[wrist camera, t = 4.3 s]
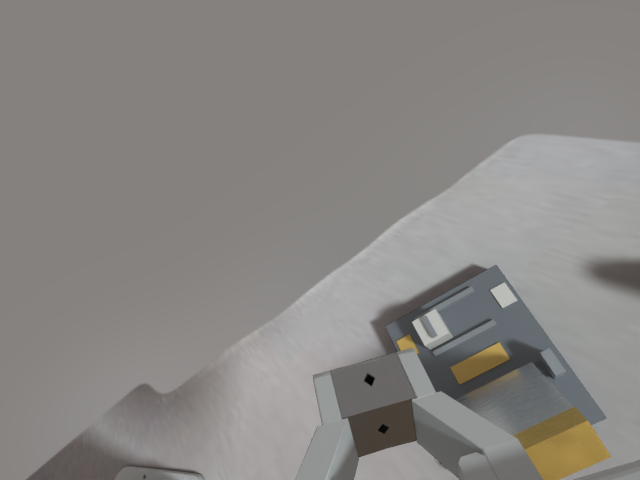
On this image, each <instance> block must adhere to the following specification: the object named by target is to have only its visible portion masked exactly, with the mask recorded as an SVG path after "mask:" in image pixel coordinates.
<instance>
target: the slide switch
mask: <svg viewBox="0 0 640 480" xmlns="http://www.w3.org/2000/svg"><path fill="white" fill-rule="evenodd" d="M412 323H413V325H414V327H415V329H416V331H417V333H418V334H419V336H420V338H421V340H422V342H423V344H424V345H425V346H426V347H427V348H428V349H430V350H431V349H433V348H435V347H437V346H439V345H440V344H442V343H444V342H446V341H448V340H450V339H452V338H454V337H453V336H452V334H451V332H450V331H449V329H448V327H447V325H446V324H445V322H444V320H443V319H442V317H441V315H440V314H439V313H438V312H437V310H436V309H434V310H432V311H431V312H429V313H427V314H425V315H423V316H422V317H420V318H418V319H416V320H414V321H413V322H412Z"/></svg>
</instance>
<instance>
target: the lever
mask: <svg viewBox="0 0 640 480" xmlns="http://www.w3.org/2000/svg"><path fill="white" fill-rule="evenodd" d="M456 401H458V402H459V403H461V404H462V405H464V406H466V407H467V408H469V409H470V410H472V411H474V412H475V413H477V414H478V415H480V416H482V417H483V418H485V419H486V420H488V421H490V422H491V423H493V424H494V425H496V426H498V427H499V428H501V429H503V430H504V431H506V432H507V433H509V434H511V435H512V436H514V437H515V438H517V439H518V440H519V442H520V443H521V445H522V446H523V448H524V450H525V451H526V453H527V454H528V456H529V458H530V459H531V461H532V462H533V464H534V466H535V467H536V469H537V470H538V472H539V474H540V475H541V477H542V478H543V480H559V479H561V478H564V477H566V476H568V475H570V474H573V473H575V472H577V471H580V470H582V469H584V468H587V467H589V466H591V465H593V464H596V463H598V462H600V461H603V460H605V459H607V458H610V457H611V456H610V454H609V453H608V451H607V449H606V448H605V446H604V445H603V443H602V442H601V440H600V439H599V437H598V435H597V434H596V432H595V431H594V429H593V428H592V426H591V425H590V423H589V421H588V420H587V419H586V418H585V417H584V416H583V415H582V414H581V413H580V412H579V410H578V409H577V408H576V407H573V406H572V405H571V404H570V403H569V402H568V401H567V400H566V399H565V398H564V397H563V396H562V394H561V393H560V392H559V391H558V390H557V389H556V388H555V387H554V386H553V385H552V384H551V382H550V381H549V380H548V379H547V375H546V373H545V372H544V370H543V369H542V367H541V366H540V364H539V363H538V362H537V361H534V362H530V363H528V364H526V365H524V366H522V367H520V368H518V369H516V370H514V371H512V372H510V373H508V374H506V375H504V376H502V377H500V378H498V379H496V380H494V381H492V382H490V383H488V384H486V385H484V386H482V387H480V388H478V389H476V390H474V391H472V392H470V393H468V394H466V395H464V396H462V397H460V398H458V399H456Z"/></svg>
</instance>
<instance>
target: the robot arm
mask: <svg viewBox="0 0 640 480" xmlns="http://www.w3.org/2000/svg"><path fill="white" fill-rule="evenodd" d="M330 371H331V373H330ZM330 371H327V372H323V373H319V374H315V375H313V381H314V386H315V392H316V397H317V402H318V407H319V412H320V417H321V422H322V425H321V426H317V428H316V431H315V433H314V436H313V438H312V440H311V443H310V445H309V448H308V450H307V452H306V455H305V457H304V460H303V462H302V464H301V467H300V469H299V472H298V474H297V476H296V479H295V480H354V477H355V473H356V469H357V465H358V461H359V457H362V456H365V455H368V454H371V453H374V452H377V451H380V450H383V449H387V448H390V447H394V446H398V445H402V444H406V443H410V442H414V441H417V443H419V444H420V445H421V446H422V447H423V448H424V449H425V450H427V451H428V452H429V453H430V454H431V455H432V456H434V457H435V458H436V459H437V460H438V461H439V462H440V463H442V464H443V465H444V466H445V467H446V468H447V469H448V470H450V471H451V472H452V473H453V474H454V475H455V476H457V477H458V478H459V480H543V478H542V477H541V475H540V474H539V472H538V470H537V469H536V467H535V466H534V464H533V462H532V461H531V459H530V458H529V456H528V454H527V453H526V451H525V450H524V448H523V446H522V445H521V443H520V442H519V440H518V439H517V438H515V437H514V436H512V435H511V434H509V433H507V432H506V431H504V430H503V429H501V428H499V427H498V426H496V425H494V424H493V423H491V422H490V421H488V420H486V419H485V418H483V417H482V416H480V415H478V414H477V413H475V412H474V411H472V410H470V409H469V408H467V407H466V406H464V405H462V404H461V403H459V402H458V401H456V400H454V399H453V398H451V397H450V396H448V395H446V394H445V393H443V392H442V391H440V392H436V391H435V389H434V387H433V385H432V383H431V381H430V379H429V377H428V375H427V373H426V371H425V369H424V367H423V365H422V363H421V361H420V359H419V357H418V355H417V353H416V351H415V350H414V349H413V348H409V349H406V350H402V351H398V352H396V353H395V352H394V353H391V354H387V355H384V356H380V357H377V358H374V359H370V360H367V361H363V362H362V363H358V364H354V365H350V366H346V367H342V368H338V369H334V370H330ZM114 480H204V479H203V477H202V476H201V475H200V474H196V473H188V472H179V471H171V470H162V469H153V468H145V467H136V466H127V467H124V468H122V469H121V470H120V472H119V473H118V474H117V475H116V477H115V478H114ZM574 480H640V460H638V461H634V462H631V463H628V464H624V465H621V466H618V467H614V468H611V469H608V470H604V471H601V472H598V473H594V474H591V475H588V476H584V477H581V478H578V479H574Z"/></svg>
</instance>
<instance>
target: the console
mask: <svg viewBox="0 0 640 480" xmlns="http://www.w3.org/2000/svg"><path fill="white" fill-rule="evenodd" d="M434 309H436V310H437V312H438V313H439V314H440V315H441V317H442V319H443V320H444V322H445V324H446V325H447V327H448V329H449V331H450V332H451V334H452V336H453V337H454V338H452V339H450V340H448V341H446V342H444V343H442V344H440V345H439V346H437V347H435V348H433V349H431V350H430V349H428V348H427V347H426V346H425V345H424V344H423V342H422V340H421V338H420V336H419V334H418V333H417V331H416V329H415V327H414V325H413V323H412V322H413V321H414V320H416V319H418V318H420V317H422V316H423V315H425V314H427V313H429V312H431V311H432V310H434ZM385 327H386V329H387V331H388V333H389V335H390V337H391V339H392V341H393V343H394V345H395V347H396V349H397V351H402V350H406V349H409V348H413V349H414V350H415V351H416V353H417V355H418V357H419V359H420V361H421V363H422V365H423V367H424V369H425V371H426V373H427V375H428V377H429V379H430V381H431V383H432V385H433V387H434V389H435V391H436V392H440V391H442V392H443V393H445V394H446V395H448V396H450V397H451V398H453V399H454V400H456V399H458V398H460V397H462V396H464V395H466V394H468V393H470V392H472V391H474V390H476V389H478V388H480V387H482V386H484V385H486V384H488V383H490V382H492V381H494V380H496V379H498V378H500V377H502V376H504V375H506V374H508V373H510V372H512V371H514V370H516V369H518V368H520V367H522V366H524V365H526V364H528V363H530V362H534V361H537V362H538V363H539V364H540V366H541V367H542V369H543V370H544V372H545V373H546V375H547V379H548V380H549V381H550V382H551V384H552V385H553V386H554V387H555V388H556V389H557V390H558V391H559V392H560V393H561V394H562V396H563V397H564V398H565V399H566V400H567V401H568V402H569V403H570V404H571V405H572V406H573V407H576V408H577V409H578V410H579V412H580V413H581V414H582V415H583V416H584V417H585V418H586V419H587V420H588V421H589V423H590V425H593V424H595V423H597V422H599V421H601V420H604V419H606V416H605V415H604V414H603V412H602V411H601V410H600V408H599V407H598V405H597V404H596V403H595V401H594V400H593V398H592V397H591V396H590V394H589V393H588V391H587V390H586V389H585V387H584V386H583V384H582V383H581V382H580V380H579V379H578V378H577V376H576V375H575V373H574V372H573V371H572V369H571V368H570V366H569V365H568V364H567V362H566V361H565V359H564V358H563V357H562V355H561V354H560V353H559V351H558V350H557V348H556V347H555V346H554V344H553V343H552V341H551V340H550V339H549V337H548V336H547V334H546V333H545V332H544V330H543V329H542V328H541V326H540V325H539V323H538V322H537V321H536V319H535V318H534V316H533V315H532V314H531V312H530V311H529V309H528V308H527V307H526V305H525V304H524V303H523V301H522V300H521V298H520V297H519V296H518V294H517V293H516V291H515V290H514V289H513V287H512V286H511V284H510V283H509V282H508V280H507V279H506V277H505V276H504V275H503V273H502V272H501V271H500V269H499V268H498V266H497V265H495V266H493V267H491V268H489V269H487V270H486V271H484V272H482V273H480V274H478V275H477V276H475V277H473V278H471V279H469V280H468V281H466V282H464V283H462V284H461V285H459V286H457V287H455V288H453V289H452V290H450V291H448V292H446V293H444V294H443V295H441V296H439V297H437V298H435V299H434V300H432V301H430V302H428V303H426V304H425V305H423V306H421V307H419V308H417V309H416V310H414V311H412V312H410V313H409V314H407V315H405V316H403V317H401V318H400V319H398V320H396V321H394V322H392V323H391V324H389V325H387V326H385Z"/></svg>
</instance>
